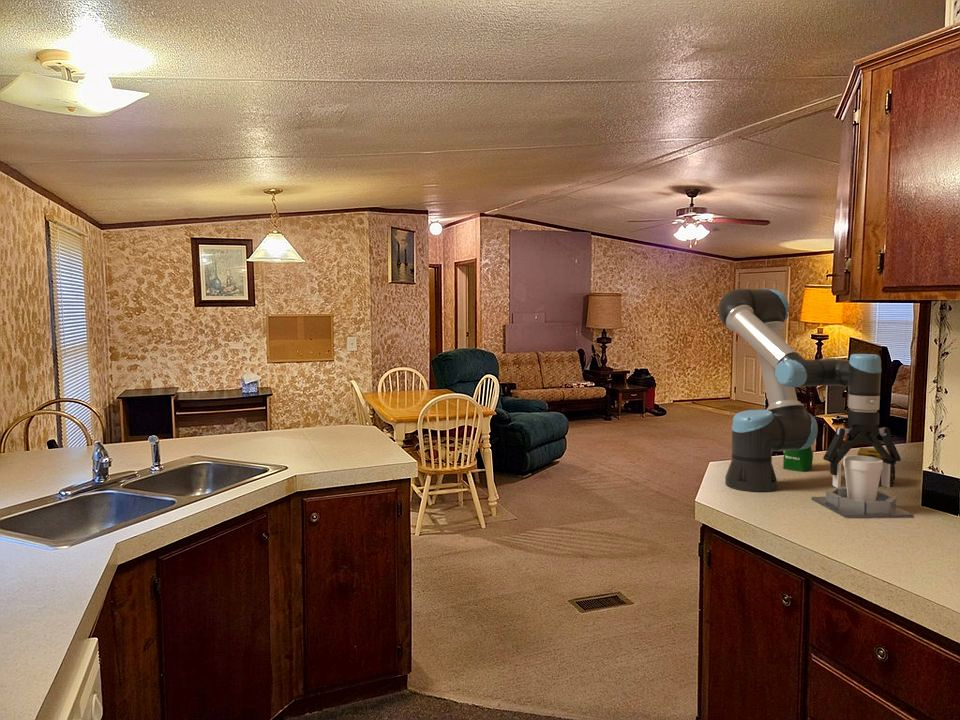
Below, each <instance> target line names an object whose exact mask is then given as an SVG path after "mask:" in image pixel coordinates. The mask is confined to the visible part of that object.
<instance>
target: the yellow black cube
mask: <svg viewBox="0 0 960 720" xmlns="http://www.w3.org/2000/svg"><path fill="white" fill-rule="evenodd" d="M885 450H886V451H887V452H888V450H887V449H885ZM888 454H889V452H888ZM857 455H860V456H870V457H875V458H879V459H882V460H883V462H886V461H885V460H884V459H883V458H882V457H881V455H880V454H879V453H878V452H877V451H876V449H875V448H869V447H867V448H866V447H859V449H858V451H857ZM889 455H890V454H889ZM895 465H896V464H893V474H892V475H890V487H891V488H893V487H894V485H895V480H896V467H895ZM879 487H883V486H882V485H881V476H880V481H879Z"/></svg>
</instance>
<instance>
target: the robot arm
mask: <svg viewBox="0 0 960 720" xmlns="http://www.w3.org/2000/svg"><path fill="white" fill-rule="evenodd" d="M789 313H790V304H789V301H788V299H787V297H786V296H785V294H783V293H782V292H781V291H779V290H777V289H770V288H762V289H761V288H757V289H756V288H735V289H733V290H730V291H728V292H727V293H725V294H724V295H723V296H722V298H721V299H720V300H719V303H718V307H717V314H718V318H719V319H720V321H721V322H722V324H723V325H724V326H725V327H726V328H727V329H728V330H729V331H732V332H736V333H737V334H738V335H740V337H741V338H742V339H744V341H746V342H747V343H748V344H749V345H750V346H751V347H752V348H753V349H754V350H755V351H756V352H757V356H758V361H759V366H760V370H761V371H760V372H761V375H762V381H763V385H764V388H765V389H764V390H765V394H766V397H767V402H768V403H767V404H768V407H767V408H766V409H748V410H743V411H739V412H737V413H736V414H734V415H733V418H732V424H731V425H732V426H731V431H732V432H731V434H732V435H731V437H732V438H731V461H730V463H729V467H728V470H727V472H726V474H725V481H724V482H725V485H726V486H727V487H729V488H732V489H735V490H741V491H747V492H761V493H762V492H772V491H775V490H777V489H778V479H777V476H776V472H775V469H774V466H773V462H772V461H773V452H784V451H788V450H793V451H797V450H801V449H806V448H809V447H810V446H811V445H812V444H813V445H814V443H815V440H817V437H818V432H819V431H818V430H819V429H818V428H819V427H818V422H817V419H816V418H815V417H814V416H813V415H812V414H811V413H809V412H808V413H807V412H805V411H806V409H805V405H804V404H803V403H802V402H800V401H799V400H798V397H797V392H796V388H799V387H803V388H804V387H817V386H818V387H819V386H820V387H824V386H825V387H826V386H838V387H840V386H841V387H846V388H847V387H848V401H847V402H848V403H847V407H848V409H849V410H848V411H847V428H842V427H840V426H837V427H836V428H835V434H834V437H833V438H832V440H831V442H830V444H829V445H828V447H827V450H826V452H825V453H824V455H823V458H822V459H823V460H824V461H826V462H829V463H830V467H829V468H830V469H829V470H830V471H829V472H830V473H829V474H830V475H832V486H833V487H837V488H841V487H842V486H841V485H842V484H841V483H842V464H841V463H840V462H841V460H842V459H844V457H845V456H847V454H848V453H849V451H850V450H851V449H852V448H853V447H855V446H856V445H871V446H872V447H873V449H876V451H877V452H878V453H879V454H880V455H881V457H882V458H883V459H884V460H885V461H886V462H883V469H882V471H881V485H882V486H881V487H884V488H889V489H890V475H892V474H893V464H895V465H896V464H897V462H901V461H902V459H901V456H900V453H899V452H898V449H897V447H896V445H895V443H894V441H893V439H892V436H891V430H890V428H889V427H885V426H881V427H880V428H879V425H880V412H879V410H880V406H881V405H880V400H881V379H882V371H883V370H882V360H881V357H880V355H879V354H874V353H873V354H872V353H871V354H870V353H852V354H851V355H850V357H849V359H848V360H847V359H841V358H840V359H839V358H831V357H829V358H828V357H827V358H820V359H806V358H804V357H803V356H802V355H800V354H799V352H797V351H796V350H795V349H794V348H793V347H791V345H789V344H788V343H787V342H786V341H785V340H784V336H783V332H782V330H783V328H784V327H785V325H786V322H785V321H786V320H787V319H788V317H789ZM847 435H848V436H847ZM878 435H880V436H881V439H882V441H883V443H884V446H885V448H884V446H883V445H882V444H881V441H880V440H879V439H878ZM845 436H847V438H845ZM844 439H845V440H844ZM843 441H844V442H843ZM842 443H843V444H842ZM886 450H888V452H889V454H890V455H889V454H888V452H887V451H886Z"/></svg>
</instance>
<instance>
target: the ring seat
mask: <svg viewBox="0 0 960 720" xmlns="http://www.w3.org/2000/svg"><path fill="white" fill-rule="evenodd" d="M811 500H812V501H814V502H815V503H817V504H819V505H821V506H822V507H825V508H827V509H829V510H830V511H832V512H834V513H836V514H838V515H840V516H842V518H843V517H844V518H846V519H880V518H882V519H883V518H884V519H889V518H890V519H891V518H892V519H893V518H894V519H895V518H897V519H899V518H901V519H902V518H905V519H906V518H911V519H912V518H915V516H914V514H913V513H911V512H909V511H907V510H904V509H902V508H900V507H898V506H897V497H896V496H894V495H892V494H889V493H887V492H884V491H882V490H878V491H877V497H876V501H861V500H855V499H849V498H848V497H847V488H846V486H843V487H842V486H841V488H837V487H835V486H833V487H831V488H830V489H827V490H826V491H825V496H811Z"/></svg>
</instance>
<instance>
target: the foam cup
mask: <svg viewBox="0 0 960 720" xmlns="http://www.w3.org/2000/svg"><path fill="white" fill-rule="evenodd" d="M842 462H843V464H842V465H843V468H844V478H845V487H846V488H847V497H848V498H849V499H855V500H861V501H876V497H877V491H879V487H880V485H879V481H880V476H881V471H882V469H883V460H882V459H879V458H875V457H870V456H860V455H858V454H854V455H853V454H852V455H851V454H850V455H849V454H848V455H845V456H844V457H843V461H842Z"/></svg>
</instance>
